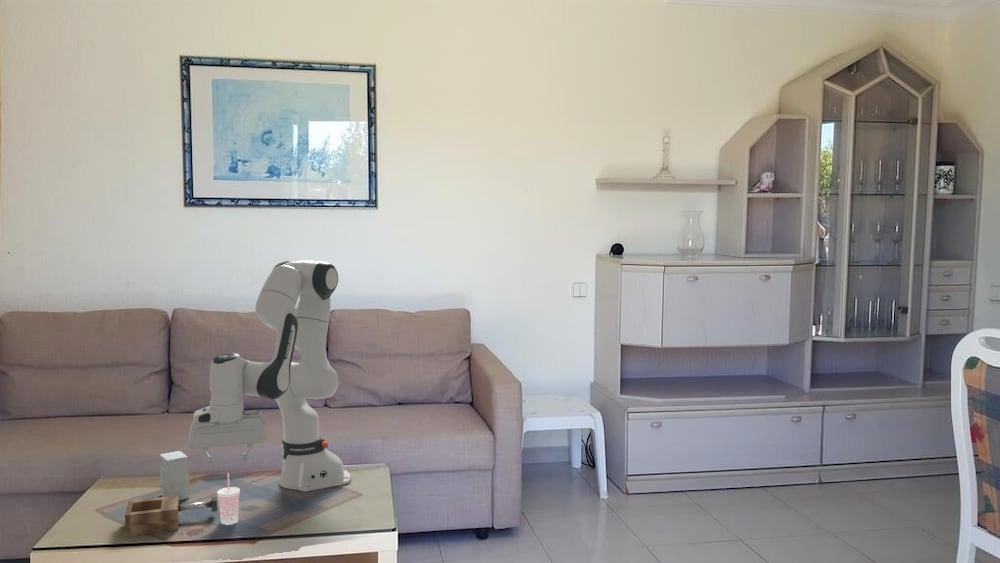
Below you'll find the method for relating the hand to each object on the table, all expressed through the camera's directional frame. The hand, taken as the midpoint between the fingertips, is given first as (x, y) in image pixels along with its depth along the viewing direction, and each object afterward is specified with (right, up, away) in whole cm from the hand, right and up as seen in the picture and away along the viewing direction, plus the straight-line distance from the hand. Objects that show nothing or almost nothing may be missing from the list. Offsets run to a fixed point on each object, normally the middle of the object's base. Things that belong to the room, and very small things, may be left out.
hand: (227, 460), depth 220 cm
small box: (-23, -16, +21) cm, 35 cm away
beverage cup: (0, -18, +2) cm, 18 cm away
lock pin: (-11, -15, +4) cm, 19 cm away
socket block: (-20, -18, -1) cm, 27 cm away
